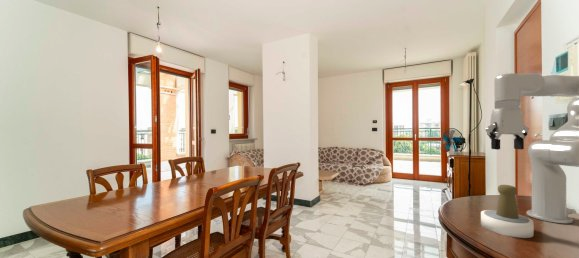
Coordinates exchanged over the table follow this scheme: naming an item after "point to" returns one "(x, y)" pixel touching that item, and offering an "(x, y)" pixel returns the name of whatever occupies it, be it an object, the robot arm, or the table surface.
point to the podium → (507, 224)
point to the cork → (507, 202)
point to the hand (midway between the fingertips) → (507, 149)
